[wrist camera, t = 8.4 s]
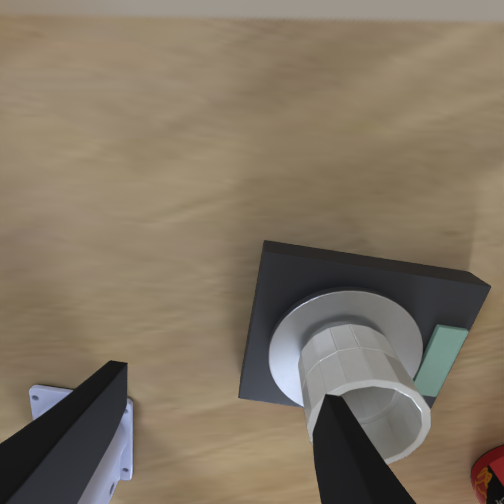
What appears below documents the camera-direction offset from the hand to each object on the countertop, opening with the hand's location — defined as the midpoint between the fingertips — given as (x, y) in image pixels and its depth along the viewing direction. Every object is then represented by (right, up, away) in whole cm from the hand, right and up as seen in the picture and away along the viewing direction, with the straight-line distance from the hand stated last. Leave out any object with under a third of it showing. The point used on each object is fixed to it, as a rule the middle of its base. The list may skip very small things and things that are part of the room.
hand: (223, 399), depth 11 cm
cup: (+6, -1, +7) cm, 9 cm away
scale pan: (+7, -1, +7) cm, 10 cm away
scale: (+7, 0, +10) cm, 12 cm away
